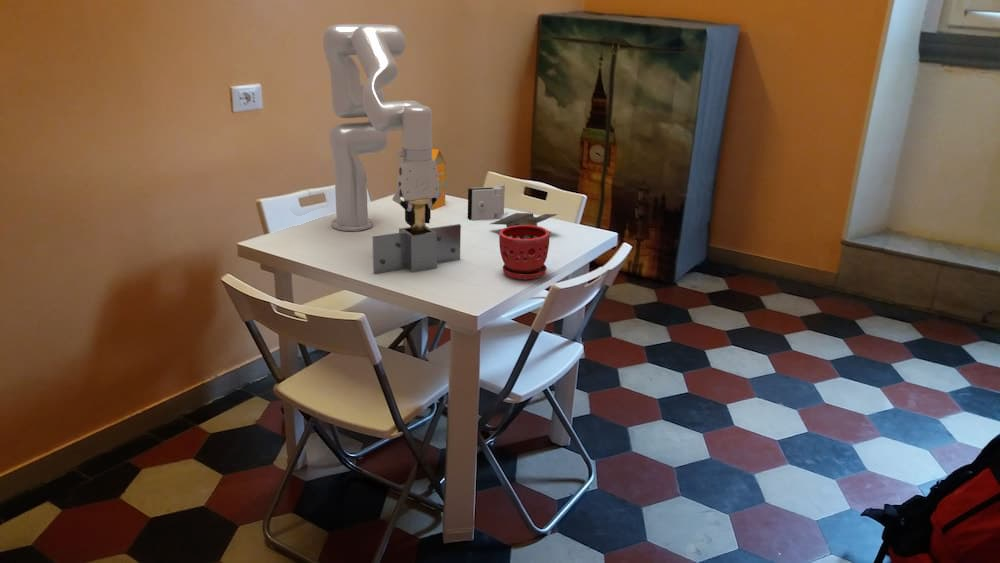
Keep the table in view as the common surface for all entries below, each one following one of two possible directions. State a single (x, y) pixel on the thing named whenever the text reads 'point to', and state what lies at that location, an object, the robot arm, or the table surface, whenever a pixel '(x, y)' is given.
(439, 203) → the orange juice
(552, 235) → the table surface
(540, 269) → the plant pot
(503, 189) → the hinge
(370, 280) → the table surface
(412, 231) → the pin
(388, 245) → the grey socket bracket
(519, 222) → the grey winged shape
